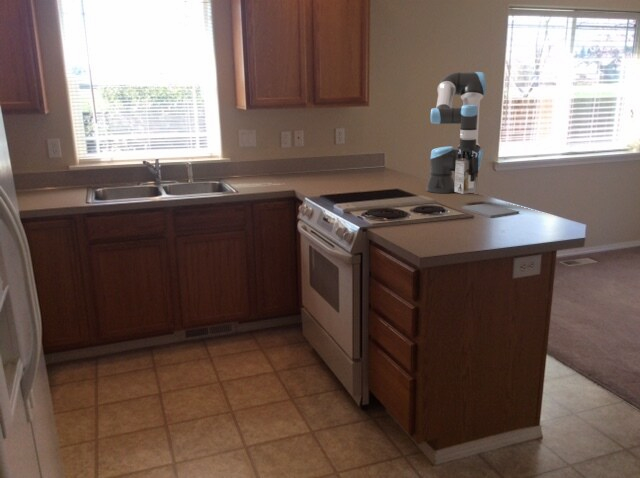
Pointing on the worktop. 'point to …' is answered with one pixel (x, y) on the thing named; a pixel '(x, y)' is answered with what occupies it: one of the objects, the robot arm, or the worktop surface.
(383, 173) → the worktop surface
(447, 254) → the worktop surface
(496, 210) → the mat
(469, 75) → the robot arm
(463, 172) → the coffee box
